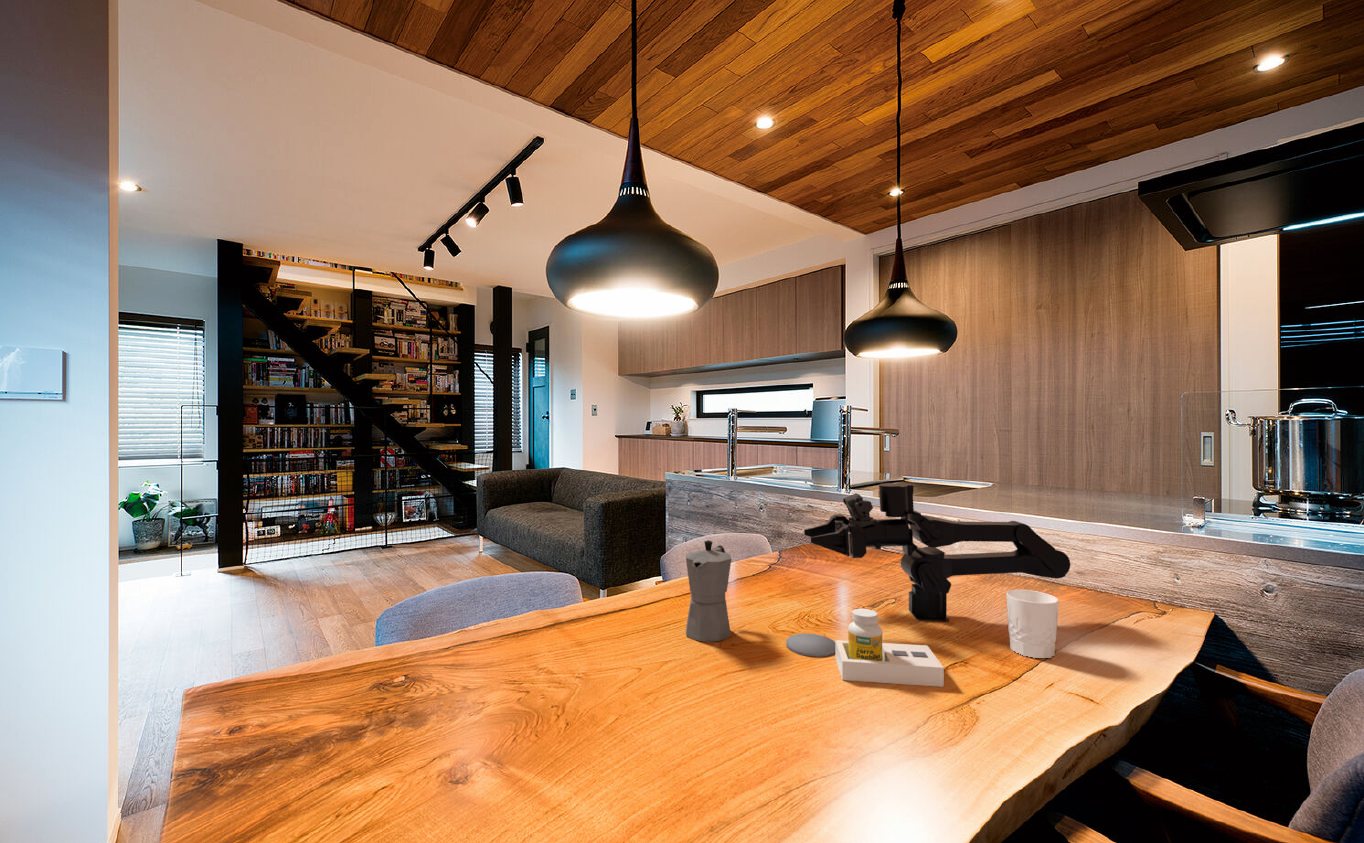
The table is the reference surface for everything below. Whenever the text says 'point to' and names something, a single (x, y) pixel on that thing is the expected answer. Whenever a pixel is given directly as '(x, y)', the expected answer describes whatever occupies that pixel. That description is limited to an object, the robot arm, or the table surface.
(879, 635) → the supplement bottle
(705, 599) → the coffeepot
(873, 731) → the table surface
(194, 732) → the table surface
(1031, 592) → the white cup
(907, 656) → the desk organizer
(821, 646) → the mat
